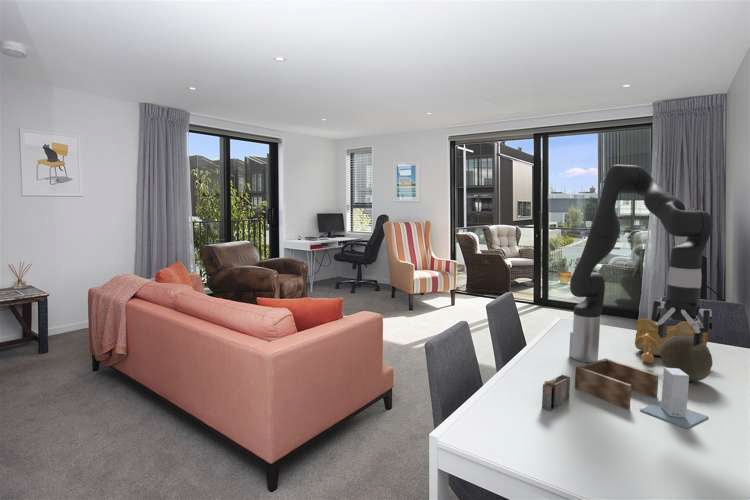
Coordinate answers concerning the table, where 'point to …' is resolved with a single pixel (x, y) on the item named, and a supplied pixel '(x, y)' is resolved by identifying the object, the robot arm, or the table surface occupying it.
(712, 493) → the table surface
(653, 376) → the open side box
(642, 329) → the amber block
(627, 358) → the table surface
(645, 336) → the figurine
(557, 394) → the brown upright block
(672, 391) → the skincare box
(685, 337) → the brown rock
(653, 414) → the mat
